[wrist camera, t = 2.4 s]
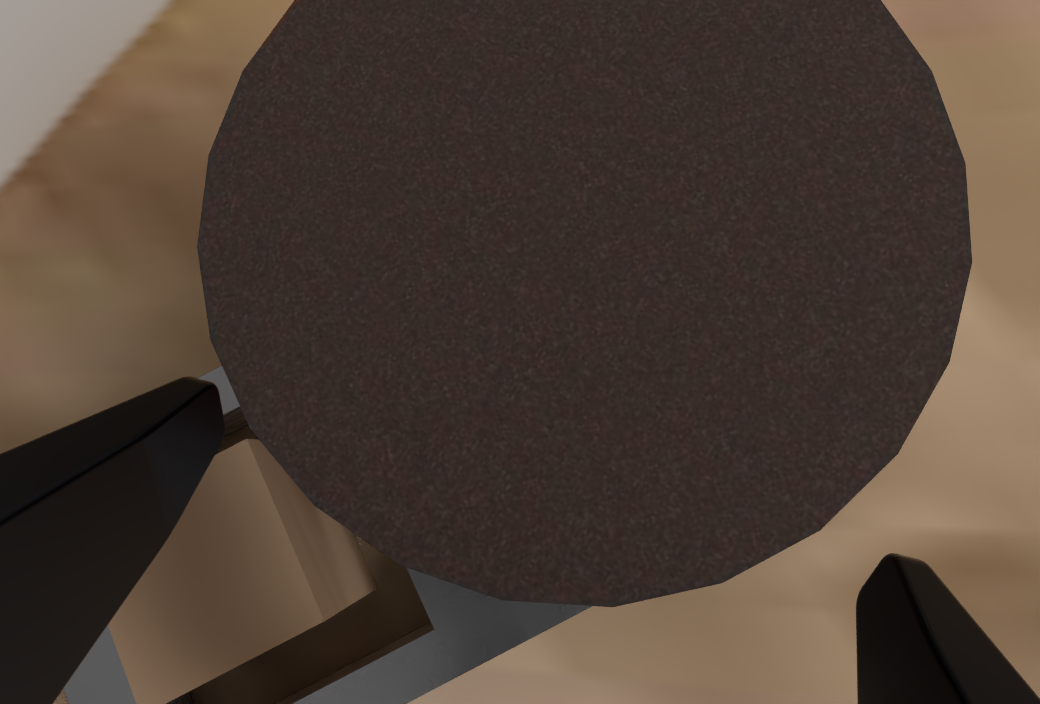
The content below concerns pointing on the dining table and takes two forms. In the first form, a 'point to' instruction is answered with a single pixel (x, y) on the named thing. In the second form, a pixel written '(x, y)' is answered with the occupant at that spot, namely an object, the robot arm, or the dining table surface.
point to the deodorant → (584, 277)
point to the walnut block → (235, 578)
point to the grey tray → (386, 672)
